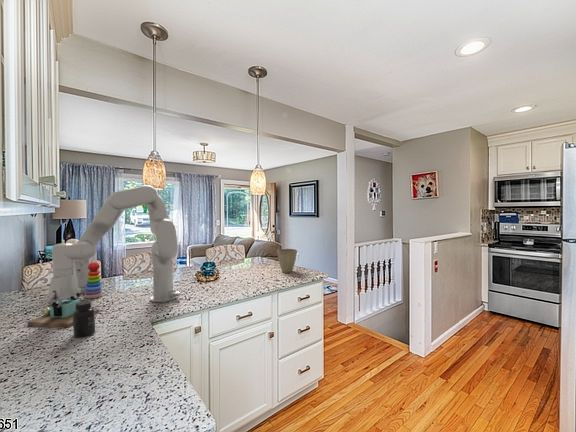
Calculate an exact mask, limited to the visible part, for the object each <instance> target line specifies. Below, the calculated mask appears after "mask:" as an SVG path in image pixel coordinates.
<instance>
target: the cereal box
mask: <svg viewBox="0 0 576 432" xmlns="http://www.w3.org/2000/svg"><path fill="white" fill-rule="evenodd" d="M97 252H98V251H97V250H96V254H95V255H94V256H93V257H92V258H90V259H75V268H76V269H75V273H76V276H77V280H78V287H79V288H81V292H80V293H79V294H83V293H84V294H85V291H86V287H87V286H86V284H87V283H88V282H87V280H88V278H87V277H88V276H89V275H88V272H89V271H90V270H89V269H88V266H89V264H90V263H92V262H97V259H98V257H97ZM97 263H98V262H97Z"/></svg>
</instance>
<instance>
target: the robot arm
mask: <svg viewBox="0 0 576 432" xmlns="http://www.w3.org/2000/svg"><path fill="white" fill-rule="evenodd" d="M143 205H145V206H146V209H147V212H148V217H149V218H148V219H149V227H150V228H149V229H150V232H151V233H152V235H154V236H155V238H156V239H155V241H153V244H152V245H151V257H152V258H151V259H152V284H153V286H152V292H153V293H152V294H153V295H152V296H151V297H149V301H150V302H152V303H166V302H170V301H173V300H175V299H176V298H177V297H180V295H181V292H180V291H176V288H174V262H173V258H176V256H177V253H178V251H179V247H178V235H177V229H176V226H175V224H174V222H173V221H171V220H170V219H169V217H168V212H167V207H166V203H165V202H164V199H163V198H162V197H161V196H160V195H159V193H158V191H157V189H156V188H155V187H154V186H151V185H148V184H147V185H146V184H145V185H140V186H138V187H133V188H129V189H124V190H118V191H114V192H111V193H110V194H109V196H108V197H107V199H106V200H105V202H104V203H103V204H102V206H101V208H100V209H99V210H98V212H97V213H96V215H95V216H94V217H93V219H92V221H91V222H90V223H89V225H88V226H87V228H86V230H85V231H84V232H83V233H82V235H81V236H80V238H79V239H78V241H77V242H76V243H74V244H73V243H70V242H67V243H66V242H63V243H56V244H54V245H52V248H51V250H52V251H51V253H52V254H51V256H52V277H51V279H50V284H49V297H48V298H47V300H46V303H47V304H48V305H49V307H50V306H52V307H53V311H54V316H56V317H60V316H62V307H60V306H61V303H62V301H63V300H68V299H69V300H79V296H80V294H81V293H80V292H81V288H79V287H78V280H77V276H76V273H75V269H76V268H75V259H90V258H92V257H93V256H94V255H95V254H96V251H97V246H98V244H99V242H100V241H101V240H102V239H103V237H104V236H105V235H106V234H107V233H108V232H109V231H110V230H112V229H113V228H114V227H115V225H116V223H117V222H118V220H119V219H120V217H121V216H122V215H123V213H124V211H125V210H127V209H132V208H136V207H139V206H143ZM57 303H58V304H57Z"/></svg>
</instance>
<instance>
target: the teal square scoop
mask: <svg viewBox="0 0 576 432" xmlns="http://www.w3.org/2000/svg"><path fill="white" fill-rule="evenodd" d="M79 302H81V301H80V300H79V299H78V300H70V299H64V300H62V303H61V306H60V307H62V316H60V317H65V318H66V317H69V316H71V315H73V313H74V312H75V311H76V309H75V308H76V307H75V305H76V304H77V303H79ZM57 304H58V302H57ZM63 304H66V305H63ZM42 315H45V308H44V309H42ZM49 315H51V317H56V316H54V311H53V307H52V306H50V305H49Z"/></svg>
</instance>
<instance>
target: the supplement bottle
mask: <svg viewBox="0 0 576 432" xmlns="http://www.w3.org/2000/svg"><path fill="white" fill-rule="evenodd" d="M75 307H76V308H75V309H76V311H75V312H74V313H73V325H72V331H73V336H74V337H75V338H85V337H89V336H91V335H93V334H94V333H95V332H96V314H95V311H94V309H95V308H94V307H92V302H91V301H90V300H84V301H80V302H79V303H77V304H76V305H75Z"/></svg>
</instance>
